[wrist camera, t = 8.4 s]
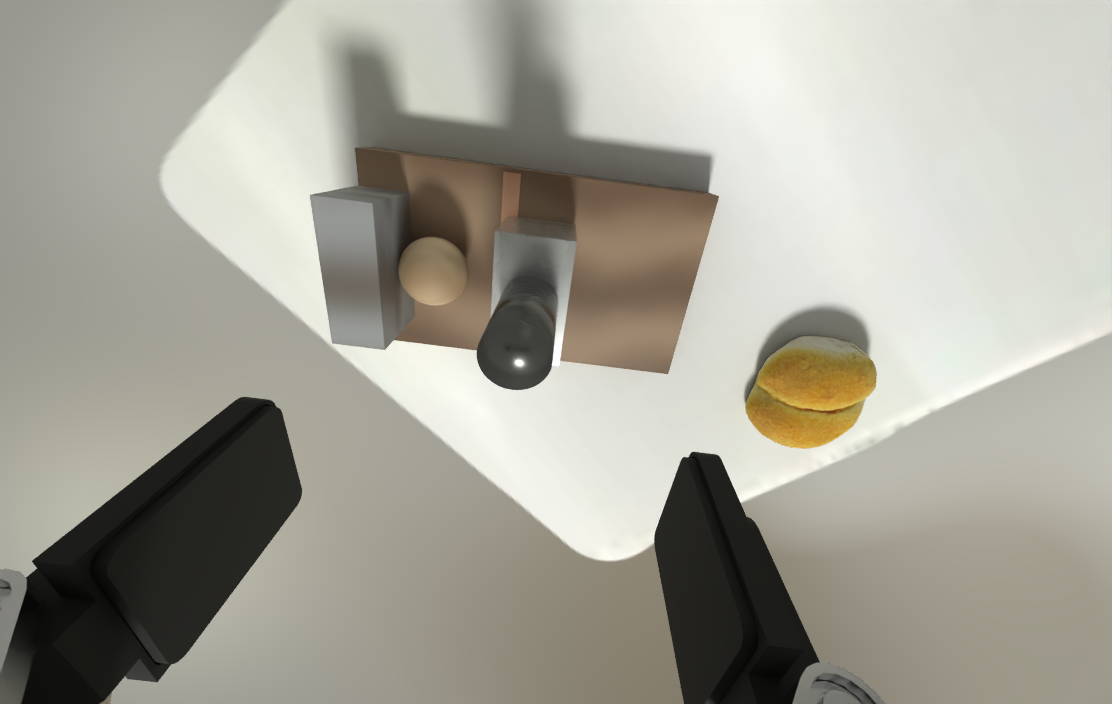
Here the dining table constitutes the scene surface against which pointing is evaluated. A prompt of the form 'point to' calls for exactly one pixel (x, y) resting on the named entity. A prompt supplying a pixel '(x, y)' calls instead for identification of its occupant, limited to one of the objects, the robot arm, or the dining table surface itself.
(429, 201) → the base
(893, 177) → the dining table surface
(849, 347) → the bread roll
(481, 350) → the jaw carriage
